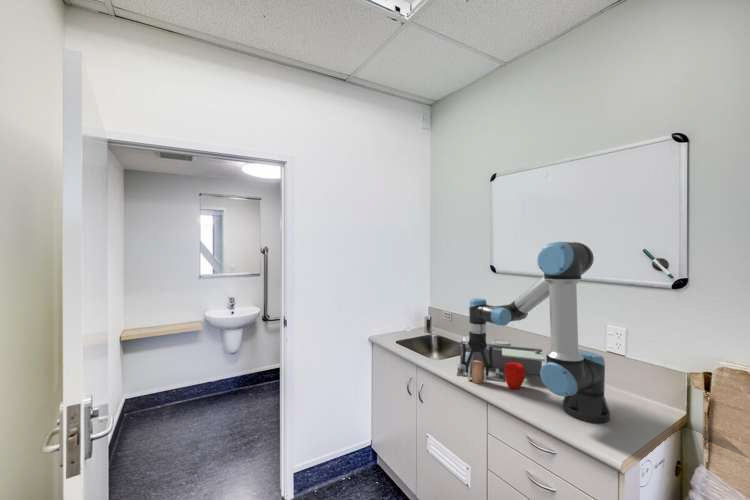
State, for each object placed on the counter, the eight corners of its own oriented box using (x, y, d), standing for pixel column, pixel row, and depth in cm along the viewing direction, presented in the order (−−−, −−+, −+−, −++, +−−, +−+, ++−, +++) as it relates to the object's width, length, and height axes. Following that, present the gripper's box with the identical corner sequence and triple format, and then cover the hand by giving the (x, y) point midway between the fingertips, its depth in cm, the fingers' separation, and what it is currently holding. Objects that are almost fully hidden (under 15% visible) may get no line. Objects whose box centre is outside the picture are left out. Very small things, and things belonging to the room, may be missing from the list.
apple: (523, 393, 140) (523, 368, 140) (502, 388, 144) (502, 364, 144) (526, 386, 147) (526, 362, 147) (506, 381, 152) (506, 358, 152)
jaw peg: (482, 384, 149) (482, 364, 149) (471, 382, 151) (471, 363, 151) (483, 380, 154) (483, 361, 154) (472, 378, 155) (472, 359, 155)
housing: (546, 387, 146) (546, 359, 146) (456, 375, 159) (456, 349, 159) (541, 373, 162) (541, 348, 162) (460, 363, 175) (460, 340, 175)
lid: (544, 361, 148) (544, 356, 148) (502, 356, 154) (502, 352, 154) (541, 353, 159) (541, 349, 159) (501, 349, 165) (501, 345, 165)
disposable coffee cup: (491, 365, 173) (492, 343, 172) (491, 360, 182) (491, 338, 182) (511, 368, 170) (511, 345, 170) (509, 362, 179) (510, 340, 179)
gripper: (499, 331, 152) (498, 380, 152) (457, 328, 159) (456, 374, 159) (499, 335, 145) (499, 387, 145) (455, 331, 152) (455, 380, 152)
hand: (477, 380), depth 152 cm, fingers open, 6 cm apart
